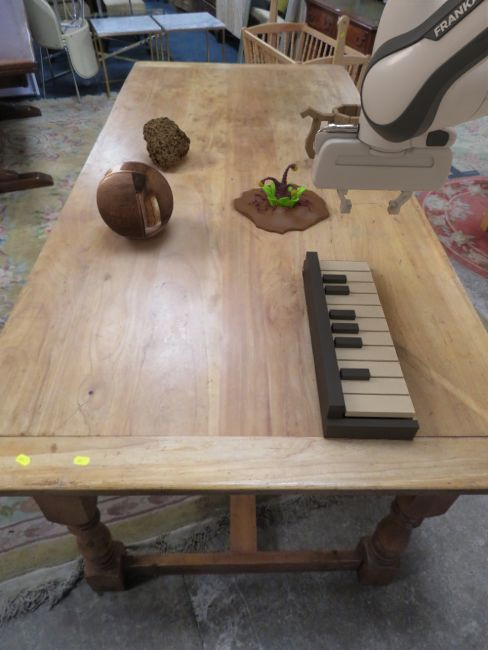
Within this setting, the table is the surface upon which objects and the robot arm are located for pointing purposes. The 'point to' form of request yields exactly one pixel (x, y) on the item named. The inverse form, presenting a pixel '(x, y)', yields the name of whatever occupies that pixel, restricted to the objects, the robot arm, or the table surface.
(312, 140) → the tankard
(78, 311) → the table surface
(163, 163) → the brown porous lump
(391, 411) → the white piano key
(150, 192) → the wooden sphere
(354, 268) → the low key
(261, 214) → the plant
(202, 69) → the table surface
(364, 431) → the keyboard
